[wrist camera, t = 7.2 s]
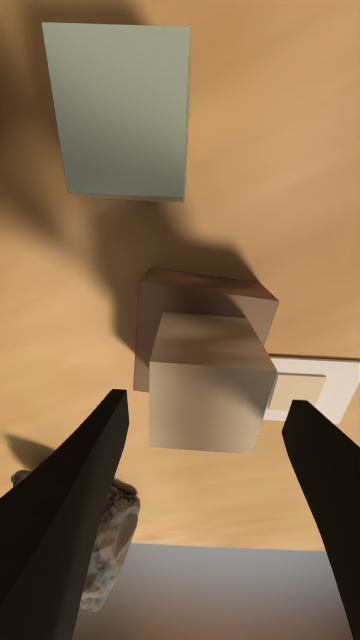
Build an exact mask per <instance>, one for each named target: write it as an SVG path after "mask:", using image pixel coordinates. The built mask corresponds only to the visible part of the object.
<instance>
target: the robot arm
mask: <svg viewBox="0 0 360 640" xmlns="http://www.w3.org/2000/svg"><path fill="white" fill-rule="evenodd" d="M128 427H129V414H128V401H127V390H121V389H112V390H111V391H110V392H109V393H108V394H107V396H106V397H105V398H104V399H103V400H102V402H101V403H100V404H99V405H98V406H97V407H96V408H95V410H94V411H93V412H92V413H91V414H90V415H89V416H88V417H87V418H86V420H85V421H84V422H83V423H82V424H81V425H80V426H79V427H78V428H77V429H76V430H75V431H74V432H73V433H72V434H71V435H70V436H69V437H68V438H67V439H66V440H65V441H64V442H63V443H62V444H61V445H60V446H59V447H58V448H57V449H56V450H55V451H54V452H53V453H52V454H51V455H50V456H49V457H48V458H47V459H46V460H45V461H44V462H42V463H41V464H40V465H39V466H38V467H37V468H36V469H35V470H33V471H32V472H31V473H30V474H29V475H28V476H27V477H25V478H24V479H23V480H22V481H21V482H19V483H18V484H17V485H16V486H14V487H13V488H12V489H11V490H10V491H8V492H7V493H6V494H5V495H4V496H2V497H1V498H0V640H72V637H73V632H74V628H75V624H76V620H77V615H78V611H79V606H80V602H81V597H82V593H83V589H84V585H85V580H86V576H87V572H88V568H89V564H90V559H91V555H92V551H93V547H94V543H95V539H96V535H97V531H98V527H99V523H100V520H101V516H102V513H103V509H104V506H105V503H106V500H107V497H108V494H109V491H110V488H111V485H112V482H113V479H114V476H115V473H116V470H117V467H118V464H119V461H120V458H121V455H122V452H123V449H124V445H125V440H126V436H127V431H128ZM282 436H283V439H284V443H285V447H286V450H287V453H288V456H289V459H290V462H291V464H292V467H293V469H294V472H295V474H296V476H297V479H298V481H299V484H300V486H301V488H302V491H303V493H304V495H305V498H306V500H307V503H308V505H309V507H310V510H311V512H312V514H313V517H314V519H315V522H316V524H317V527H318V529H319V532H320V535H321V537H322V540H323V543H324V546H325V549H326V552H327V555H328V558H329V561H330V564H331V567H332V570H333V573H334V577H335V580H336V583H337V586H338V589H339V592H340V596H341V599H342V602H343V605H344V609H345V612H346V615H347V619H348V622H349V626H350V629H351V632H352V636H353V640H360V447H359V446H358V445H357V444H355V443H354V442H353V441H352V440H351V439H350V438H349V437H348V436H346V435H345V434H344V433H343V432H342V431H341V430H340V429H339V428H337V427H336V426H335V425H334V424H333V423H332V422H331V421H330V420H329V419H328V418H326V417H325V416H324V415H323V414H322V413H321V412H320V411H319V410H318V409H316V408H315V407H314V406H313V405H312V404H311V403H310V402H308V401H307V400H292V403H291V406H290V409H289V412H288V415H287V418H286V421H285V424H284V427H283V429H282Z"/></svg>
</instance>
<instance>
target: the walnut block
mask: <svg viewBox="0 0 360 640" xmlns="http://www.w3.org/2000/svg"><path fill="white" fill-rule="evenodd" d="M278 304H279V300H277V299H276V298H275V297H274V296H273V295H272V294H271V293H270V292H269V291H268V290H267V289H266V288H265V287H264V286H263V285H262V284H261V283H254V282H247V281H240V280H233V279H226V278H219V277H212V276H205V275H198V274H191V273H184V272H177V271H170V270H163V269H156V268H149V269H148V271H147V272H146V273H145V275H144V276H143V277H142V279H141V280H140V282H139V299H138V315H137V332H136V349H135V366H134V382H133V390H135V391H142V392H149V380H150V358H151V355H152V351H153V347H154V343H155V340H156V336H157V332H158V328H159V324H160V321H161V317H162V313H163V312H171V313H185V314H199V315H213V316H227V317H241V318H247V319H248V320H249V322H250V324H251V326H252V327H253V329H254V331H255V333H256V334H257V336H258V338H259V339H260V341H261V343H262V345H263V346H264V344H265V341H266V339H267V336H268V333H269V330H270V327H271V324H272V321H273V318H274V315H275V313H276V310H277V307H278Z"/></svg>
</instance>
